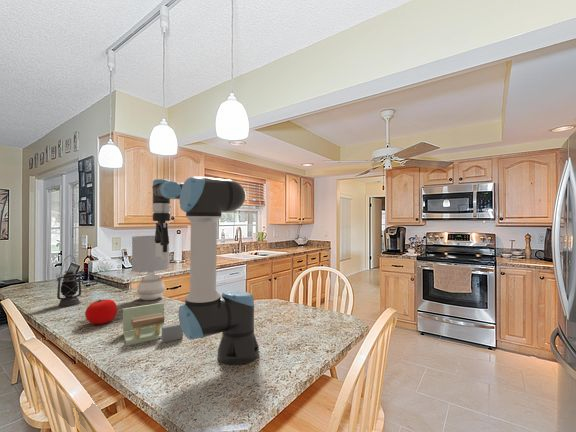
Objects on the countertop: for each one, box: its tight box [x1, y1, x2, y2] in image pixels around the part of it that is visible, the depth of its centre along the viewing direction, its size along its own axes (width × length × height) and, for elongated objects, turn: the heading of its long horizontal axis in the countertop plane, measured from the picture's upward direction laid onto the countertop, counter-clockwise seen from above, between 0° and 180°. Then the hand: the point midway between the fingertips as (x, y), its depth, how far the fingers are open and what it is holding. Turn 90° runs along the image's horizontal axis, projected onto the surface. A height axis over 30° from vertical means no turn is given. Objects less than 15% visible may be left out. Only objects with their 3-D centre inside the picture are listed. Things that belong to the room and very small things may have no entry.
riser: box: [161, 322, 184, 344], centre depth 123 cm, size 2×8×6 cm, turn 124°
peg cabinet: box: [122, 302, 166, 346], centre depth 129 cm, size 16×17×11 cm
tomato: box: [84, 299, 118, 325], centre depth 144 cm, size 12×14×11 cm
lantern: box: [56, 254, 82, 308], centre depth 178 cm, size 12×11×30 cm
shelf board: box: [132, 313, 165, 328], centre depth 126 cm, size 6×12×2 cm, turn 124°
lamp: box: [131, 234, 170, 301], centre depth 189 cm, size 22×22×40 cm
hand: (161, 258), depth 137 cm, fingers open, 13 cm apart
